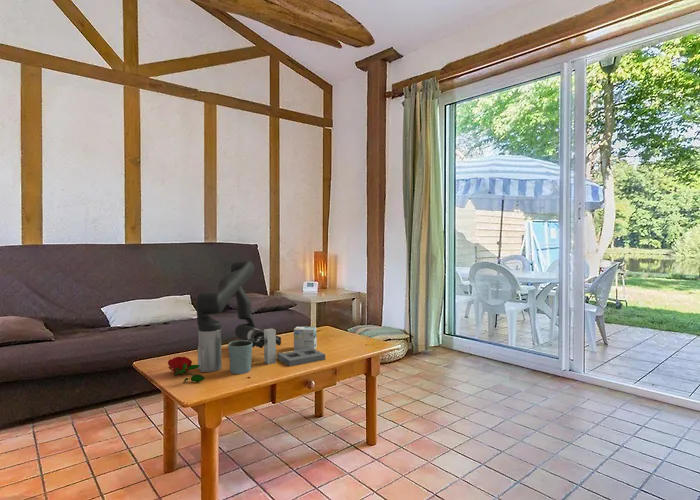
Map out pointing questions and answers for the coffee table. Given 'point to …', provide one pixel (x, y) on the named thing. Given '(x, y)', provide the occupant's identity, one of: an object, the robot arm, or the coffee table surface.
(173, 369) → the flower
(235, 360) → the green embossed pot
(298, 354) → the socket board
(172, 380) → the coffee table surface
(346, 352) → the coffee table surface
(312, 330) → the light bulb box
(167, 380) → the coffee table surface
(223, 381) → the coffee table surface
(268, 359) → the square bit
